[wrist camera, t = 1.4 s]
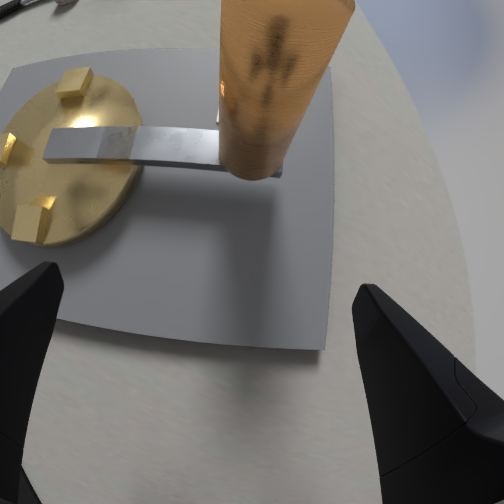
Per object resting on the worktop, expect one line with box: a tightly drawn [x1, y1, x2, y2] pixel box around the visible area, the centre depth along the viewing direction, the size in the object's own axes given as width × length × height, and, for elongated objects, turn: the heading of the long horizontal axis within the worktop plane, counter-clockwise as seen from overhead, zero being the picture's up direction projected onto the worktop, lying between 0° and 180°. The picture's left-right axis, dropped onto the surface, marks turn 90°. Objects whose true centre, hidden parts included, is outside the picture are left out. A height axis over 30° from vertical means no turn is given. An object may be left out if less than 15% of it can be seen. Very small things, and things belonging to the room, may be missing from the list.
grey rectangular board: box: [0, 48, 334, 350], centre depth 21 cm, size 34×24×2 cm
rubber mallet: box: [0, 0, 76, 18], centre depth 23 cm, size 10×4×30 cm
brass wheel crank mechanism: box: [0, 0, 355, 248], centre depth 13 cm, size 24×14×15 cm, turn 85°
